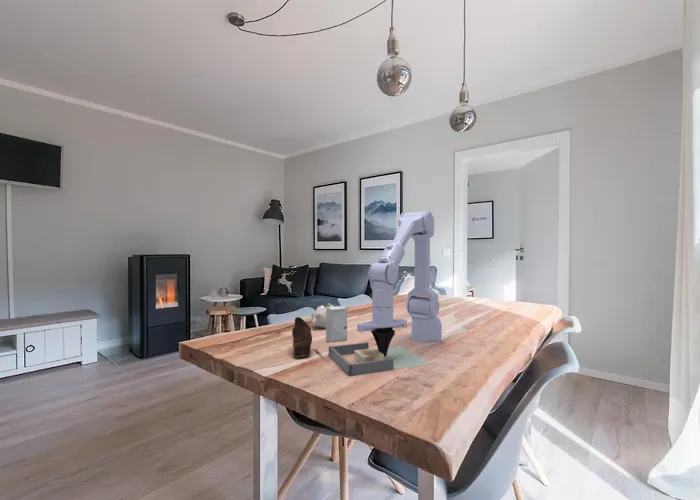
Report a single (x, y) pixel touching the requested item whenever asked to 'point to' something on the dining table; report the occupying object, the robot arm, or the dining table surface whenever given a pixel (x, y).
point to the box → (357, 368)
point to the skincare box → (336, 324)
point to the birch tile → (368, 355)
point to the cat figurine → (320, 316)
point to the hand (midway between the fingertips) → (382, 355)
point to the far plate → (404, 358)
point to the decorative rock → (301, 338)
